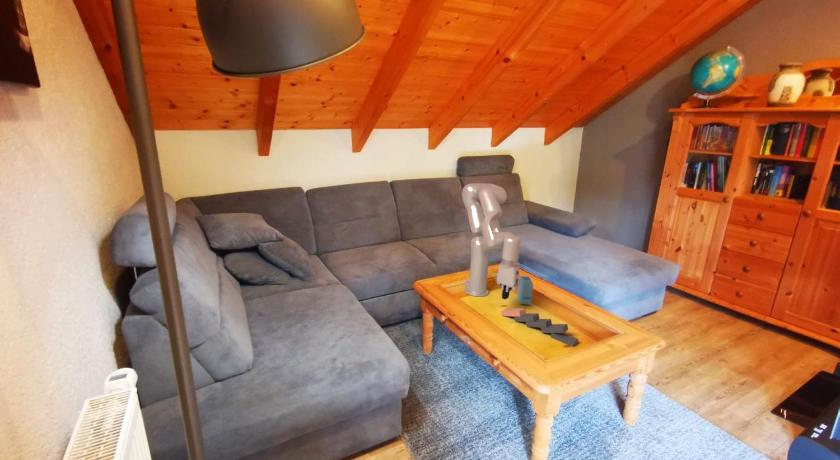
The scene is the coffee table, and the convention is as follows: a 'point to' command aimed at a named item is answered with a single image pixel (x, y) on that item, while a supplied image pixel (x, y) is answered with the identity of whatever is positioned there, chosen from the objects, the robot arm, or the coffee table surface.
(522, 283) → the data package
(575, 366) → the coffee table surface
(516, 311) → the domino
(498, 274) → the robot arm
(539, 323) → the domino
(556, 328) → the domino
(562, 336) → the domino
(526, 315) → the domino
